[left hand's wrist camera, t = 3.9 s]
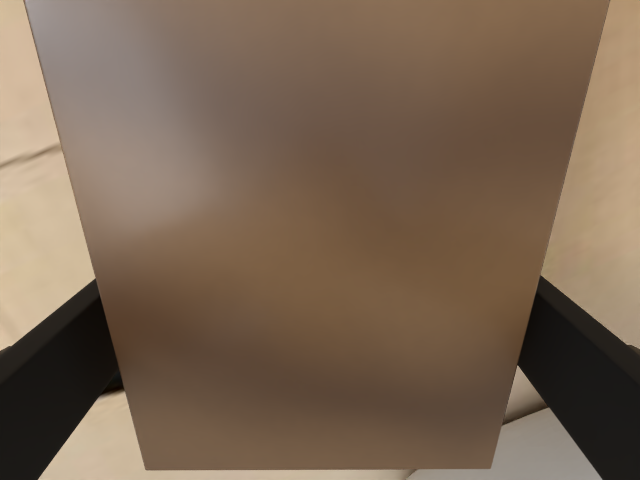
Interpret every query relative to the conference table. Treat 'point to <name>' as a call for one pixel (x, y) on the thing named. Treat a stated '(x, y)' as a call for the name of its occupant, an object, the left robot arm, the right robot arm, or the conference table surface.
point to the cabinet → (317, 214)
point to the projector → (526, 454)
